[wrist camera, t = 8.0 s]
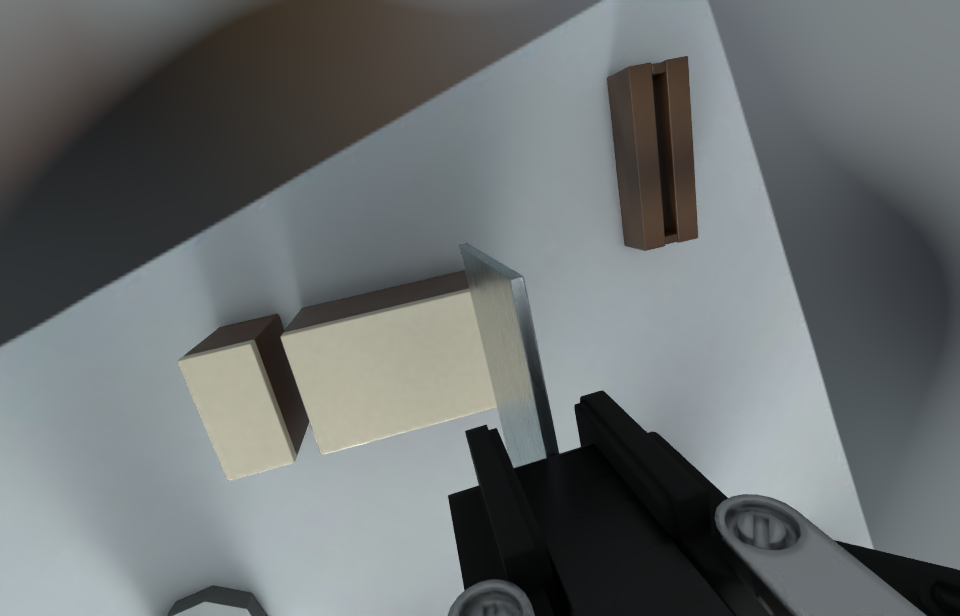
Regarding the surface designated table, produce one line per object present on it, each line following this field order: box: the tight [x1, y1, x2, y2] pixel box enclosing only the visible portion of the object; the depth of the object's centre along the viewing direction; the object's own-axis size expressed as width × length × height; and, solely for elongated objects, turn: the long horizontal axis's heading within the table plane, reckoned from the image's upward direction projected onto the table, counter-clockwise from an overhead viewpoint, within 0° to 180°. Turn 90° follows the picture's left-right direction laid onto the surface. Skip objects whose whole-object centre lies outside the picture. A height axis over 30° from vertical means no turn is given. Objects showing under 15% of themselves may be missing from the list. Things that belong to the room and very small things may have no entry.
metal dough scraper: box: [459, 243, 737, 616], centre depth 11 cm, size 10×2×12 cm, turn 12°
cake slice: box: [177, 314, 310, 481], centre depth 29 cm, size 8×4×6 cm, turn 11°
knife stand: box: [607, 56, 698, 251], centre depth 32 cm, size 12×4×3 cm, turn 11°
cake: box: [280, 270, 497, 455], centre depth 30 cm, size 8×12×6 cm, turn 101°
